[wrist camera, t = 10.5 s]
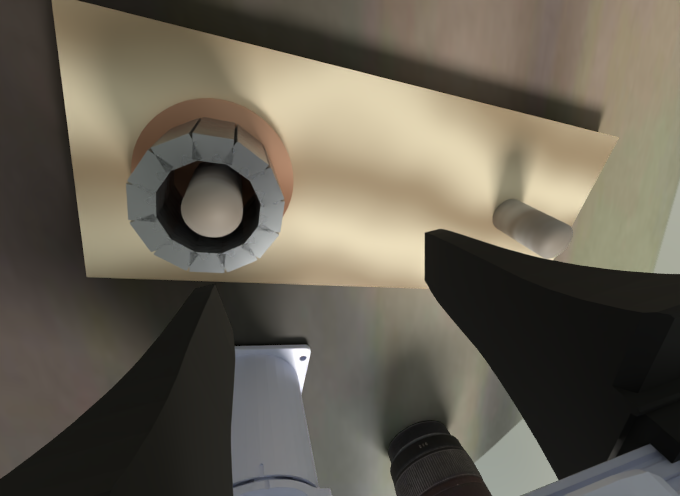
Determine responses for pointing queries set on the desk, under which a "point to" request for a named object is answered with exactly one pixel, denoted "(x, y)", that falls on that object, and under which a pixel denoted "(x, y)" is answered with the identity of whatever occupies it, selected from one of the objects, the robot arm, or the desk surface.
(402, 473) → the camera lens
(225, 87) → the stand board
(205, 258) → the collar
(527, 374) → the robot arm
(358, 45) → the desk surface
